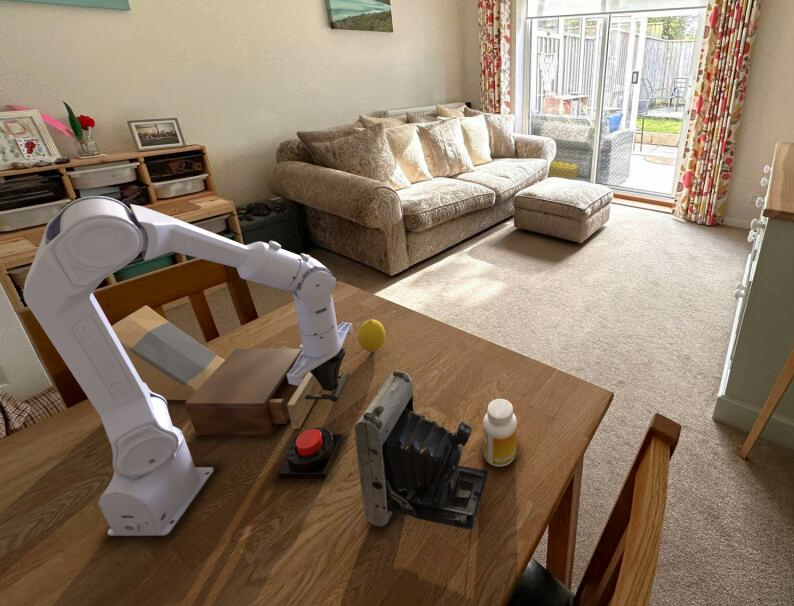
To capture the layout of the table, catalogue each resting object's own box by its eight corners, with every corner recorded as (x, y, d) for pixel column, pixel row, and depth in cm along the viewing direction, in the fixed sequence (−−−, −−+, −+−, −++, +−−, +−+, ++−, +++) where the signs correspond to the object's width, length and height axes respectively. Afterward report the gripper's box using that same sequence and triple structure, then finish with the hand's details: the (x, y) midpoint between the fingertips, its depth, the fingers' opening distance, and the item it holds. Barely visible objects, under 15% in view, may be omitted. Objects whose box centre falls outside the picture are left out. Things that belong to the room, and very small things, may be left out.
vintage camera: (469, 555, 53) (475, 444, 46) (362, 525, 55) (350, 415, 48) (488, 486, 62) (495, 384, 55) (394, 463, 64) (389, 362, 57)
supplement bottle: (522, 448, 67) (524, 404, 63) (503, 474, 63) (505, 428, 59) (495, 433, 70) (496, 389, 66) (476, 456, 66) (476, 411, 62)
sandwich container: (210, 402, 74) (188, 335, 69) (129, 398, 75) (101, 331, 69) (241, 369, 82) (223, 307, 77) (168, 366, 83) (145, 303, 77)
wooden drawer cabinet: (308, 377, 81) (302, 348, 78) (271, 435, 68) (263, 403, 66) (244, 376, 81) (236, 348, 78) (196, 435, 68) (184, 403, 65)
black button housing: (325, 478, 61) (322, 465, 60) (279, 479, 61) (275, 465, 60) (342, 439, 68) (340, 426, 67) (300, 439, 68) (297, 425, 67)
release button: (316, 456, 62) (315, 448, 61) (293, 456, 62) (291, 448, 61) (326, 436, 65) (324, 428, 65) (303, 436, 65) (302, 428, 65)
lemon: (355, 356, 87) (350, 325, 84) (370, 340, 92) (366, 310, 89) (377, 361, 86) (373, 330, 83) (391, 345, 91) (388, 315, 88)
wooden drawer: (357, 376, 80) (354, 354, 78) (333, 428, 69) (328, 405, 67) (270, 375, 80) (264, 354, 78) (230, 428, 68) (223, 404, 66)
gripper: (325, 299, 76) (335, 357, 81) (264, 348, 63) (281, 414, 68) (359, 305, 74) (367, 363, 79) (303, 356, 61) (317, 423, 66)
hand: (329, 387), depth 73 cm, fingers closed
